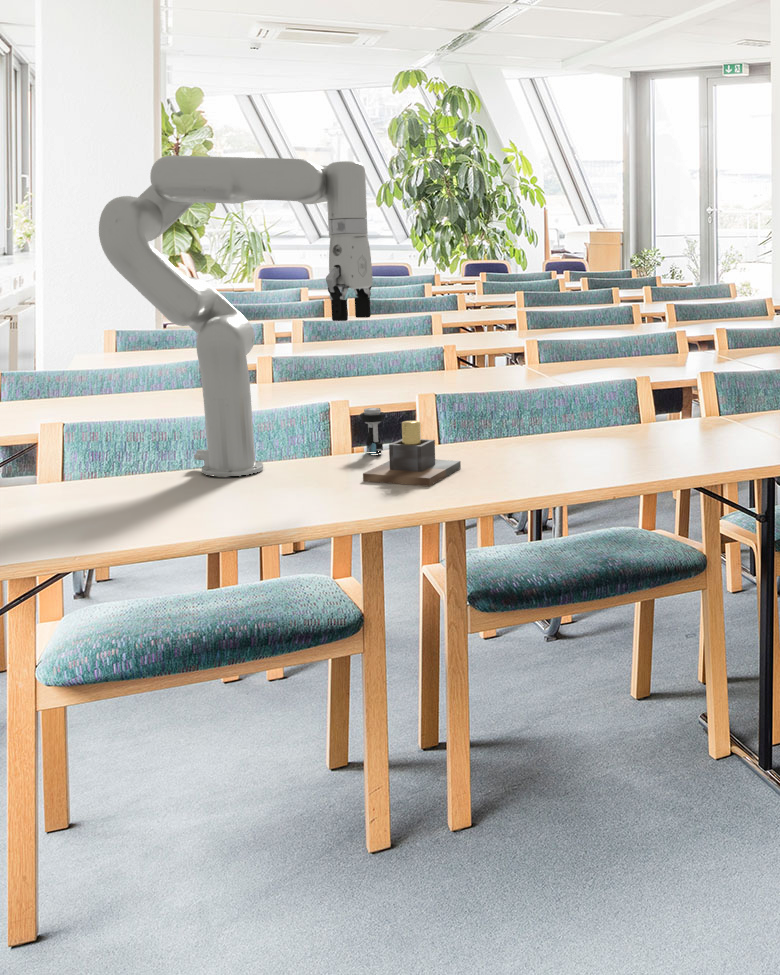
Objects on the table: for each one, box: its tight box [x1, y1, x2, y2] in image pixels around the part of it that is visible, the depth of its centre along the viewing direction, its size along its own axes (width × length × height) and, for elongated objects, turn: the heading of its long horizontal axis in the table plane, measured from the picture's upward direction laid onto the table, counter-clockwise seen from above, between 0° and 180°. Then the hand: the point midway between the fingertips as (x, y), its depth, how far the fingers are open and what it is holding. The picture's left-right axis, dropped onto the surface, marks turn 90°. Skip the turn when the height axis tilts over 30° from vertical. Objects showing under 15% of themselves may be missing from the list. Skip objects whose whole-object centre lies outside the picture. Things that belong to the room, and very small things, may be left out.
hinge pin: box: [401, 420, 422, 445], centre depth 183 cm, size 4×4×9 cm
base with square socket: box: [362, 438, 461, 487], centre depth 184 cm, size 14×16×6 cm
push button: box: [359, 407, 385, 456], centre depth 204 cm, size 7×5×10 cm
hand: (351, 319), depth 185 cm, fingers open, 9 cm apart
